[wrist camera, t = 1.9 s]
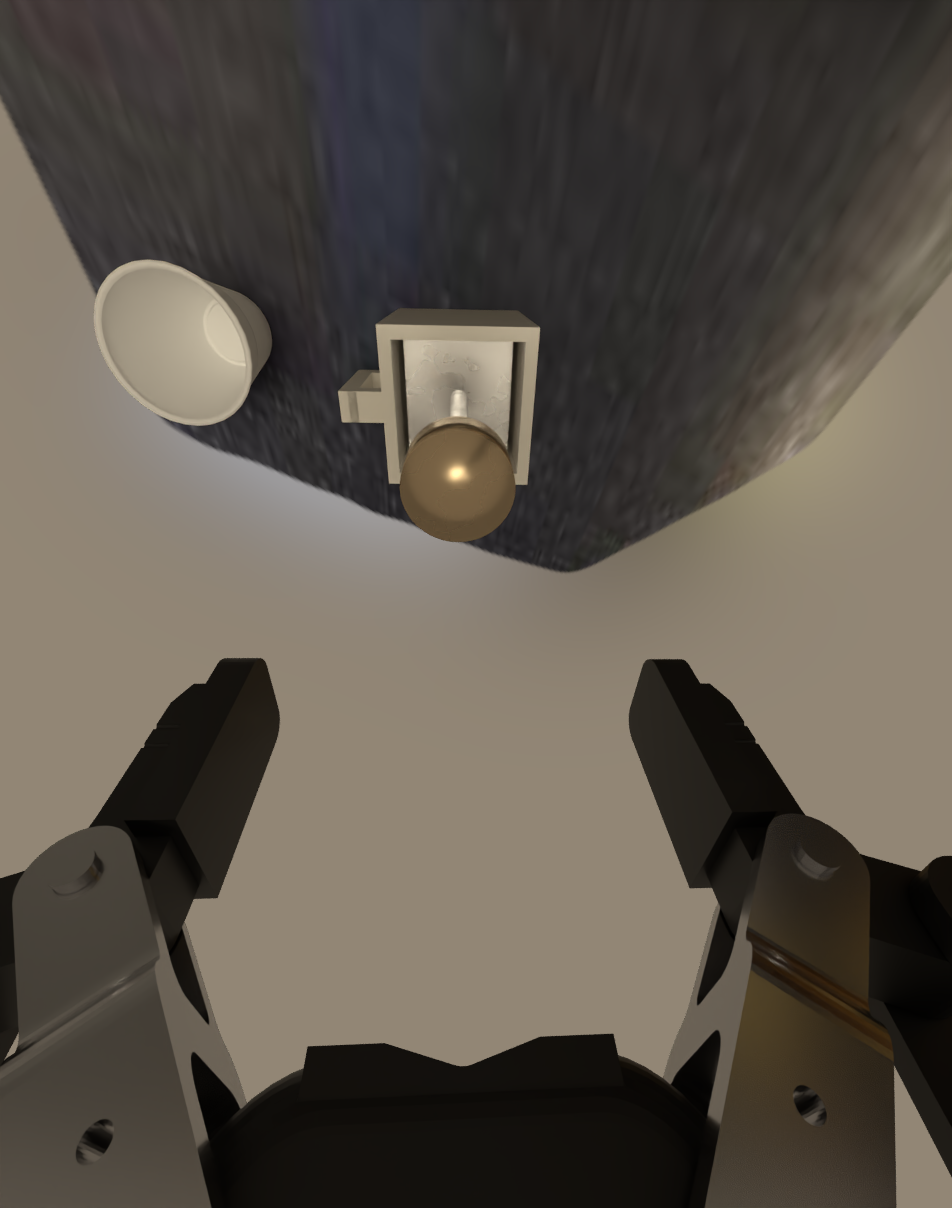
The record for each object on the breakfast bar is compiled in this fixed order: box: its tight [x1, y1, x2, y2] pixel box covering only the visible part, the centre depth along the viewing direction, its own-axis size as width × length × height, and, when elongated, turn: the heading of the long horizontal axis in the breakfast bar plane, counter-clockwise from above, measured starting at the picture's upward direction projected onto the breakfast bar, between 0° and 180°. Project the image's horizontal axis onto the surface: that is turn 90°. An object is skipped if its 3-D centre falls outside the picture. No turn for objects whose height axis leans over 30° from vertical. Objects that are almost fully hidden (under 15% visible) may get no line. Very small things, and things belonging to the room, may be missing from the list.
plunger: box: [400, 340, 515, 542], centre depth 29 cm, size 8×8×19 cm
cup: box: [94, 259, 272, 426], centre depth 37 cm, size 10×10×11 cm
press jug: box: [338, 308, 540, 485], centre depth 38 cm, size 13×10×14 cm
